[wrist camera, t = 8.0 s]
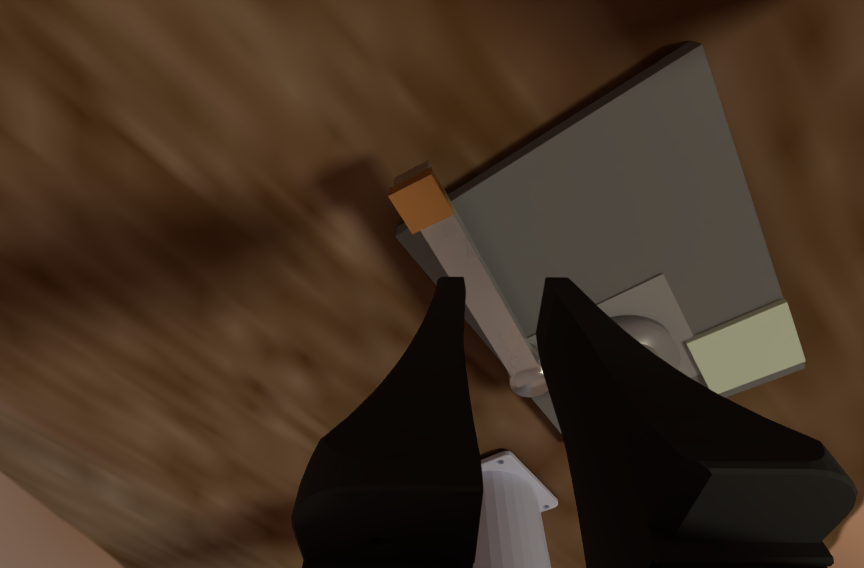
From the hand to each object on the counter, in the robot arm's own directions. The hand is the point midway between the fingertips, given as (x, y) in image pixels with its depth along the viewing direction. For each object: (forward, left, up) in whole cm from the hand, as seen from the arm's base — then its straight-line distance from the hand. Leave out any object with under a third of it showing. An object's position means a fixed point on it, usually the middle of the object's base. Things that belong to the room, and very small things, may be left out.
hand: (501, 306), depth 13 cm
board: (+2, -10, -9) cm, 14 cm away
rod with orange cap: (-2, -4, -7) cm, 9 cm away
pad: (+7, -17, -9) cm, 20 cm away
